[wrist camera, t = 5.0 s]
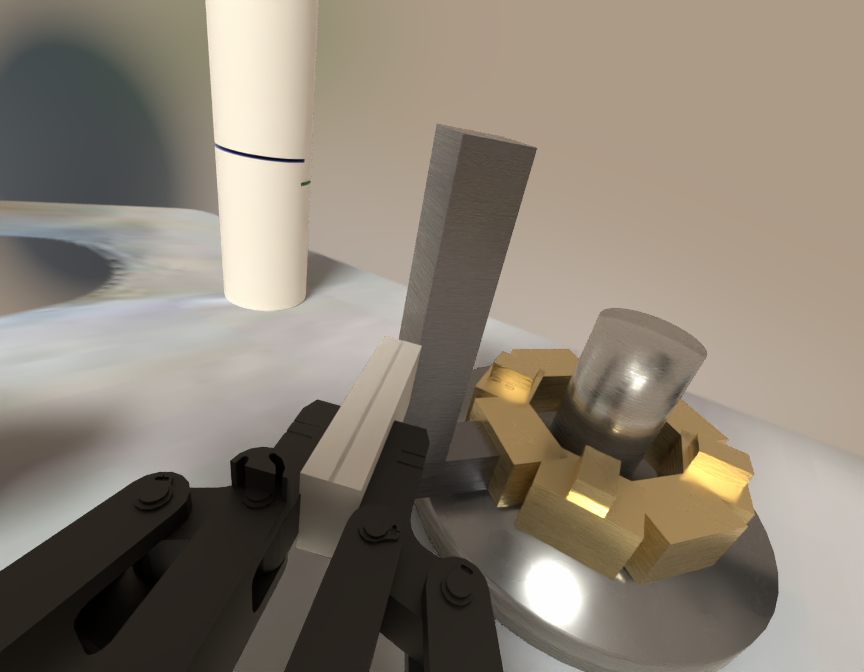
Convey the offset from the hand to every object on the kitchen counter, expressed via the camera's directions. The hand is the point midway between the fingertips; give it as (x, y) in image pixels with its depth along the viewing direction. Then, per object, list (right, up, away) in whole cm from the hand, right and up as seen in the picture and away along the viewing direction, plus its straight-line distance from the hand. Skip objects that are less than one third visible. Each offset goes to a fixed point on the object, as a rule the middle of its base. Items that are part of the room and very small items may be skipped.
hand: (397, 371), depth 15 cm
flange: (+10, -8, +10) cm, 16 cm away
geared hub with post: (+8, -6, +8) cm, 13 cm away
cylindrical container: (-14, +5, +24) cm, 29 cm away
